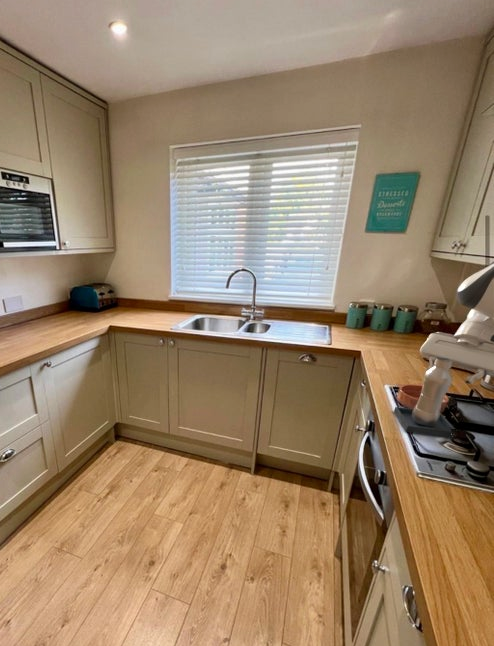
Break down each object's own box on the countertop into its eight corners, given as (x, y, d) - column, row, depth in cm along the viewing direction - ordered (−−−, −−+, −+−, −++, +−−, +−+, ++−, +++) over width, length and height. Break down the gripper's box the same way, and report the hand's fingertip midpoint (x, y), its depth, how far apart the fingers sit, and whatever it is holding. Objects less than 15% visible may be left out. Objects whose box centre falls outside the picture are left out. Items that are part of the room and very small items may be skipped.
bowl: (434, 397, 113) (438, 386, 111) (452, 416, 101) (456, 405, 99) (391, 392, 116) (394, 382, 114) (404, 411, 104) (407, 399, 102)
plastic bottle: (413, 426, 95) (434, 362, 87) (407, 415, 100) (426, 353, 93) (439, 431, 93) (463, 365, 85) (432, 419, 98) (454, 356, 91)
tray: (438, 417, 100) (440, 412, 99) (455, 438, 90) (458, 432, 89) (393, 412, 103) (395, 406, 102) (405, 431, 93) (407, 425, 92)
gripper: (431, 324, 103) (408, 360, 101) (519, 342, 87) (492, 384, 86) (433, 336, 107) (411, 370, 106) (517, 354, 91) (492, 395, 90)
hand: (448, 376), depth 96 cm, fingers open, 8 cm apart
